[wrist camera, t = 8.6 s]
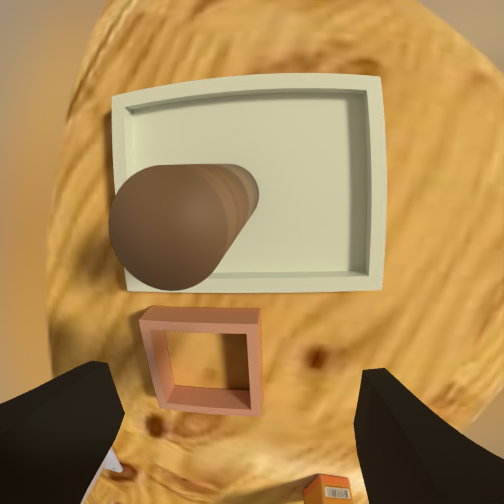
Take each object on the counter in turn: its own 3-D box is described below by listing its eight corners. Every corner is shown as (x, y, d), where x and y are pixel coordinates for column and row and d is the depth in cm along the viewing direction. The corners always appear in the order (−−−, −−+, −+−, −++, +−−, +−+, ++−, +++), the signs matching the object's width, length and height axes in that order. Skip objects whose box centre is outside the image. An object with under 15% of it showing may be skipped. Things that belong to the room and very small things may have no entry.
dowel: (199, 225, 17) (117, 288, 8) (196, 165, 16) (103, 171, 7) (260, 224, 16) (230, 292, 8) (257, 162, 16) (223, 160, 7)
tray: (138, 281, 19) (127, 291, 17) (125, 101, 16) (112, 96, 14) (374, 279, 17) (381, 289, 16) (372, 84, 15) (380, 76, 13)
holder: (168, 390, 21) (159, 408, 19) (151, 305, 19) (138, 319, 17) (263, 397, 20) (261, 416, 18) (260, 308, 18) (257, 324, 16)
